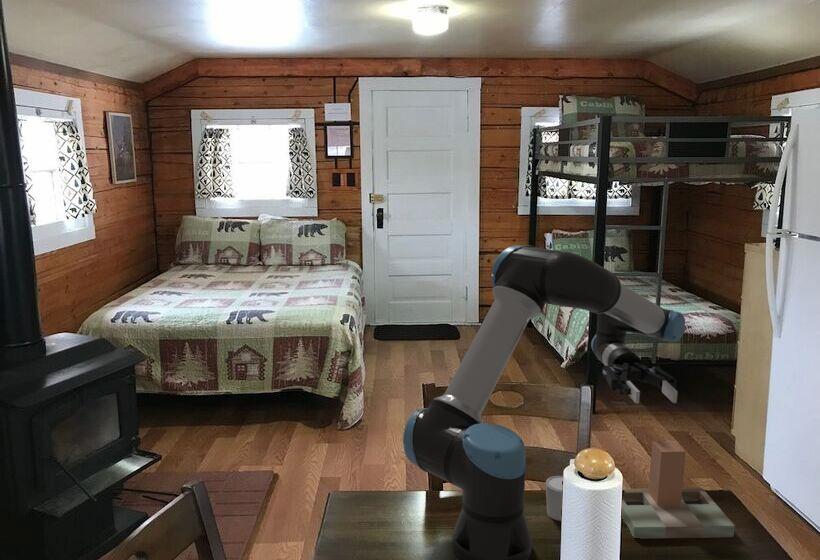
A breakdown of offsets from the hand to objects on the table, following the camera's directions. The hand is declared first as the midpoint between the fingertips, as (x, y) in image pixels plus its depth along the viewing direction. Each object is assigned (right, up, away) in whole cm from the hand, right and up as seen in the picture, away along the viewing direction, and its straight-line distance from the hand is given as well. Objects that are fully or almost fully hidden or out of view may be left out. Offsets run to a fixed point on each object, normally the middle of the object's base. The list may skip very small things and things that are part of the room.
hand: (656, 397), depth 148 cm
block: (0, -21, -4) cm, 21 cm away
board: (0, -24, -6) cm, 25 cm away
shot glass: (-22, -24, -5) cm, 33 cm away
